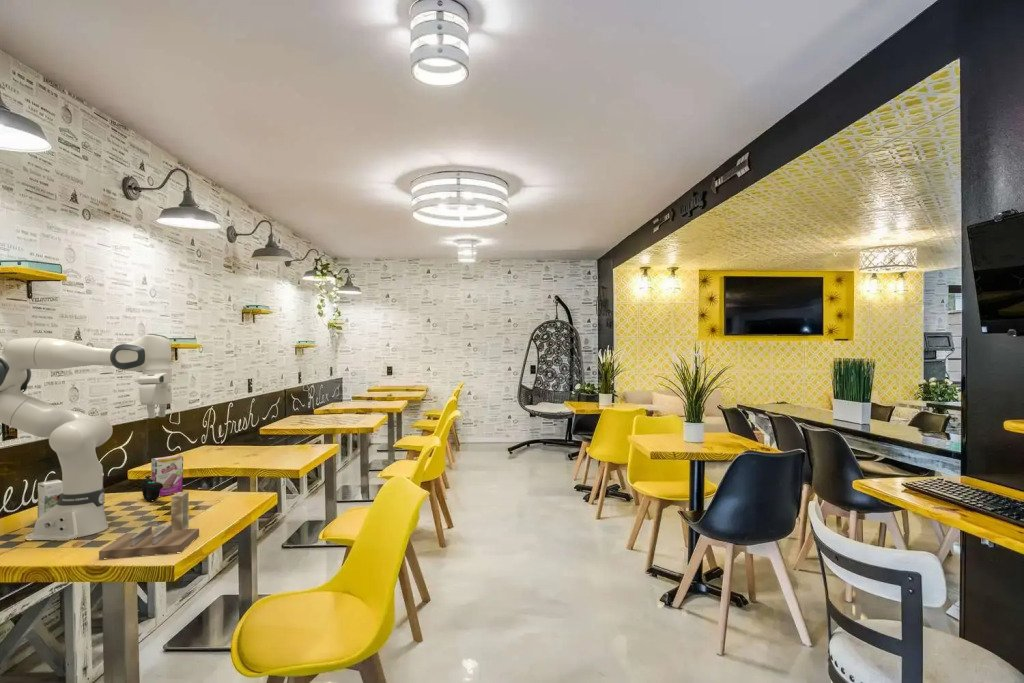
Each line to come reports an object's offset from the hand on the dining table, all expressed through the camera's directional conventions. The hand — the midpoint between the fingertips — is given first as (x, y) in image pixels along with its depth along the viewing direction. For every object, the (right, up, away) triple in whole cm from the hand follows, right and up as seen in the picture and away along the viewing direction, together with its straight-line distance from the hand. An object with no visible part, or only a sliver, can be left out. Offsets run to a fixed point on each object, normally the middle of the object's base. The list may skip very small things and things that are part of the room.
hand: (157, 417), depth 194 cm
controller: (-24, -40, +33) cm, 57 cm away
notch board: (+13, -38, -22) cm, 46 cm away
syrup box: (-45, -40, +9) cm, 61 cm away
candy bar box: (-24, -40, +43) cm, 64 cm away
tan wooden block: (+13, -38, -7) cm, 41 cm away
